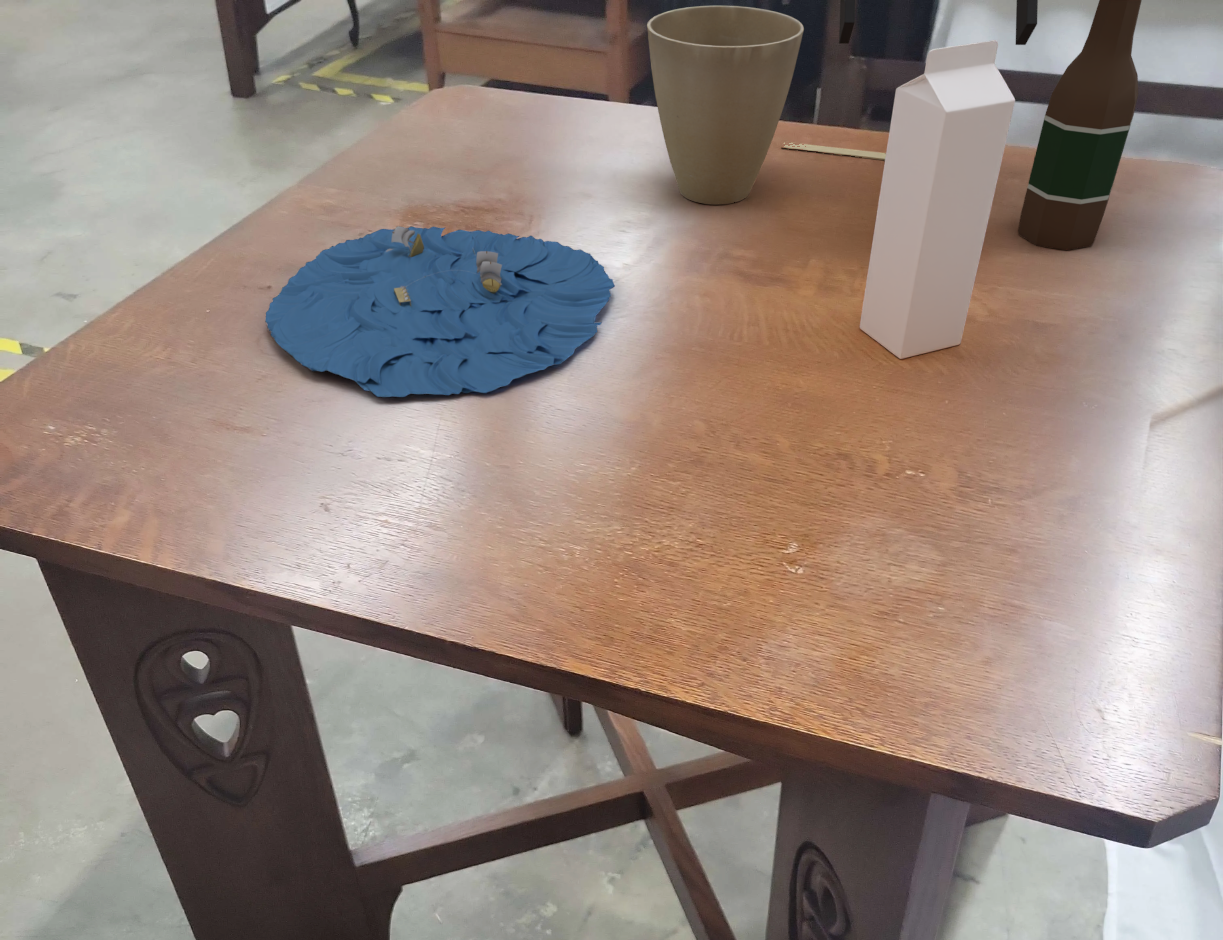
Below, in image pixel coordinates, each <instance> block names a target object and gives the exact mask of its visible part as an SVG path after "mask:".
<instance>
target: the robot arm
mask: <svg viewBox="0 0 1223 940" xmlns="http://www.w3.org/2000/svg"><path fill="white" fill-rule="evenodd" d="M1038 3H1039V0H1016V10H1015V11H1016V12H1015V13H1016V14H1015V15H1016V16H1015V45H1016V46H1026V44H1027V43H1028V41H1029V40H1030V37H1032V34H1033V32H1034V31H1035V29H1036V27H1037V25H1038V9H1039V8H1038V6H1039V5H1038ZM855 16H856V0H840V3H839V28H838V29H839V32H838V33H839V35H838V44H844V45H845V44H846V45H847V44H848V45H849V44H850V40H851V36H852V33H853V30H854V26H855V22H856V21H855V19H856V17H855Z"/></svg>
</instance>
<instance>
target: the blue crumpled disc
mask: <svg viewBox="0 0 1223 940" xmlns="http://www.w3.org/2000/svg"><path fill="white" fill-rule="evenodd" d="M445 229H446V226H445V227H437V226H431V227H429V228H427V227H415V226H409V227H404V226H400V225H397V226H396V227H395V228H392V229H391V228H390V229H389V228H380V229H378V230H375V231H372V232H371V233H366V234H365V235H364V236H363V237H359V238H354V239H346V240H345V241H344V242H339V243H336V245H332V246H330V247H329V248H326V249H322V250H321V251H320V252H319V253H318V254H317V255H316V256H315V258H314V259H313V260H309V261H306V262H305V264H304V266H301V267H299V269H298V270H297V272H296V274H294V275H293V276H291V277H290V278H288V280H287V283H286V284H285V285H284V286H282V288H281V290H280V292H279V293H278V295H277V296H274V297H273V298H272V301H271V302H270V303H269V305H268V306H269V307H268V310H267V311H266V312H265V320H264V322H265V323H266V325H267V329H268V331H269V332H270V336H271V337H272V338H273V339H274V341H275V342H276V344H277V345H278V346H279V347H280V348H281V349H283V350H284V351H286V353H288V354H289V355H290V356H292V358H293V359H294V360H295V361H296V362H298V363H299V364H301V366H303V367H306V368H308V369H309V370H310V371H311V372H321V373H322V372H325V371H328V372H330V373H332V374H335V375H339V376H340V377H343V378H346V379H350V380H352V381H354V382H355V383H356V384H357V385H358V386H359V387H360V388H361V389H362V390H363V391H368V392H371V393H372V394H373V395H374V396H375V397H377V398H379V397H380V398H381V397H382V398H390V397H391V398H392V397H396V398H405V397H407V396H408V395H411V394H414V395H424V394H425V395H426V394H429V395H445V396H450V395H452V394H454V395H460V394H461V393H465V394H469V393H473V392H475V393H481V394H487V393H489V392H492V391H495V390H497V389H499V388H500V387H507V386H509V385H510V384H511V382H512V381H513V380H515V379H516V380H517V379H521V378H522V377H524V376H526V375H529V374H533V373H537V372H539V371H544V370H546V369H547V368H548V367H551V366H554V365H561V364H562V363H564V362H565V361H567V359H568V358H569V357H572V356H574V353H575V350H576V349H577V348H578V347H580V346H582V344H584V343H585V342H587V341H589V340H590V339H591V338H594V336H595V335H596V333H598V326H601V325H602V323H603V321H599V322H596V318H597V315H598V314H600V312H601V310H602V309H603V308H605V306H606V305H607V303H608V302H609V300H610V298H611V289H613V288H615V287H616V285H615V282H614V280H613V278H610V276H609V275H608V273H607V272H606V271H605V267H604V265H602V264H601V263H599V260H597V259H595V258H594V257H593V256H592V254H591V253H589V252H586V251H584V250H582V249H581V248H580V249H573V248H572V247H571V246H568V245H564V244H561V243H560V242H559V241H551V240H546V241H544V240H543V238H535V237H534V236H533V235H529V236H527V237H526V236H520V235H515V234H512V233H505V234H503V233H497V232H492V231H490V230H486V231H485V230H484V231H483V230H480V229H476V230H471V231H469V230H465V229H457V230H454V231H450V232H448V233H445V234H444V235H442V234H443V231H444V230H445Z"/></svg>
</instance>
